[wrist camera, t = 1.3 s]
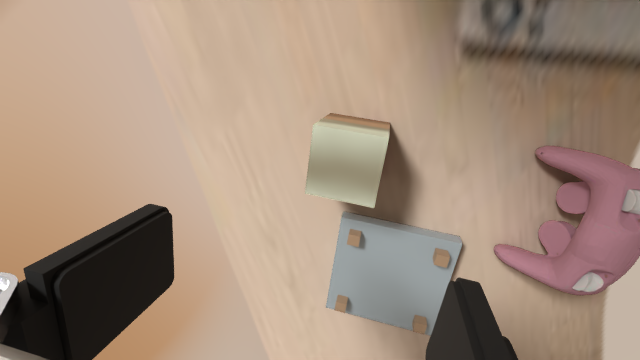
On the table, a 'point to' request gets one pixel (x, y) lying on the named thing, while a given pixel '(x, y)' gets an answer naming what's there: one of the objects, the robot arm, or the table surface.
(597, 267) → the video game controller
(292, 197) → the table surface
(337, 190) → the block stack
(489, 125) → the table surface
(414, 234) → the board
